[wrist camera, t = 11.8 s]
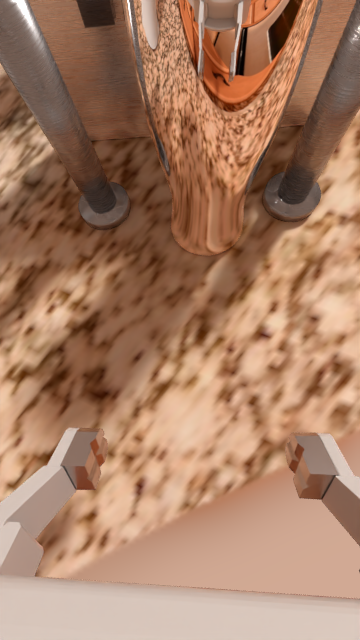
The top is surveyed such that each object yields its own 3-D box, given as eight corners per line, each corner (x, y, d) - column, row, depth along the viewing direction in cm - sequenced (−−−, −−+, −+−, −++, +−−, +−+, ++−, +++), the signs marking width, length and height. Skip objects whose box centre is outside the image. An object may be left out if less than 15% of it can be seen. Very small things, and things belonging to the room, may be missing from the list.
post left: (80, 230, 21) (-70, 38, 9) (85, 189, 22) (-43, -28, 10) (128, 228, 20) (36, 26, 9) (131, 187, 21) (54, -41, 10)
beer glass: (181, 272, 19) (131, -88, 4) (155, 206, 21) (59, -204, 6) (261, 244, 19) (471, -197, 4) (229, 180, 21) (302, -278, 6)
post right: (264, 223, 19) (363, -10, 8) (260, 180, 21) (341, -79, 9) (319, 220, 19) (506, -27, 8) (312, 177, 20) (465, -96, 9)
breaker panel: (73, 149, 23) (-175, -313, 8) (76, 129, 24) (-147, -334, 8) (325, 132, 21) (655, -515, 6) (320, 111, 22) (608, -520, 7)
